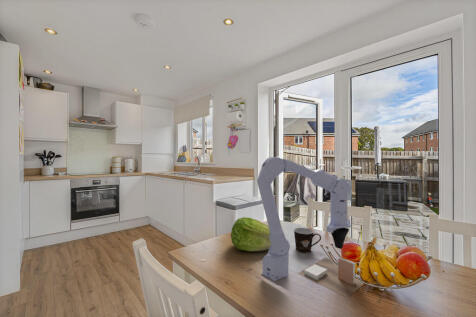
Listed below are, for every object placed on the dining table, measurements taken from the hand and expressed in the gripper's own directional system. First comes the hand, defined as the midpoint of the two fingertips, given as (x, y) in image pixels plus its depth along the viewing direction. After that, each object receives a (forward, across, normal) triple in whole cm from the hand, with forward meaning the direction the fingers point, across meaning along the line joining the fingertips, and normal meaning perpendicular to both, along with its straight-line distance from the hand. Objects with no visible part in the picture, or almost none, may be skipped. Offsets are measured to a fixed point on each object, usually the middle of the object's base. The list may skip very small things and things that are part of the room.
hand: (338, 247), depth 80 cm
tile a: (+9, -4, +5) cm, 11 cm away
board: (+11, -2, 0) cm, 11 cm away
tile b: (+9, -3, -4) cm, 11 cm away
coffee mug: (+11, +8, +19) cm, 23 cm away
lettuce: (+11, -7, +36) cm, 39 cm away
